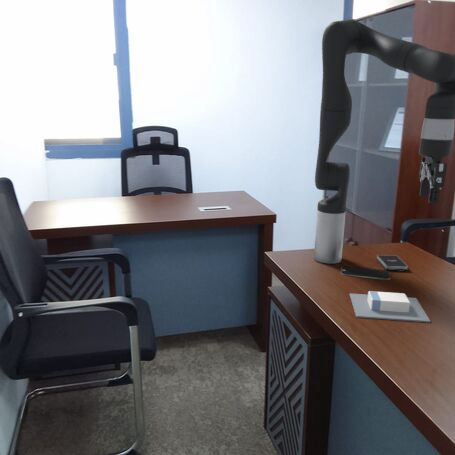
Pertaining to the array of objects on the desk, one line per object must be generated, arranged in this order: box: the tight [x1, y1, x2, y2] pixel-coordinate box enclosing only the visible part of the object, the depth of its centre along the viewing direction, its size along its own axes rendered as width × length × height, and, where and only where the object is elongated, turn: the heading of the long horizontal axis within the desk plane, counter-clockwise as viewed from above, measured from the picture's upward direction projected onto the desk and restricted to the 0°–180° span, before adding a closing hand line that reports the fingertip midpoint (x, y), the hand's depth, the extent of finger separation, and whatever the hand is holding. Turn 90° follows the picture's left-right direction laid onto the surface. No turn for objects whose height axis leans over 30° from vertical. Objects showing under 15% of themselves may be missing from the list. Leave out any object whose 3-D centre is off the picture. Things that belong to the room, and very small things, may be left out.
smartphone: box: [340, 265, 392, 281], centre depth 148 cm, size 8×1×15 cm
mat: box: [349, 293, 431, 323], centre depth 124 cm, size 14×18×1 cm
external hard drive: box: [376, 254, 409, 272], centre depth 155 cm, size 7×11×2 cm, turn 0°
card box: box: [367, 290, 410, 313], centre depth 123 cm, size 10×6×3 cm, turn 83°
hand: (428, 199), depth 123 cm, fingers open, 8 cm apart
